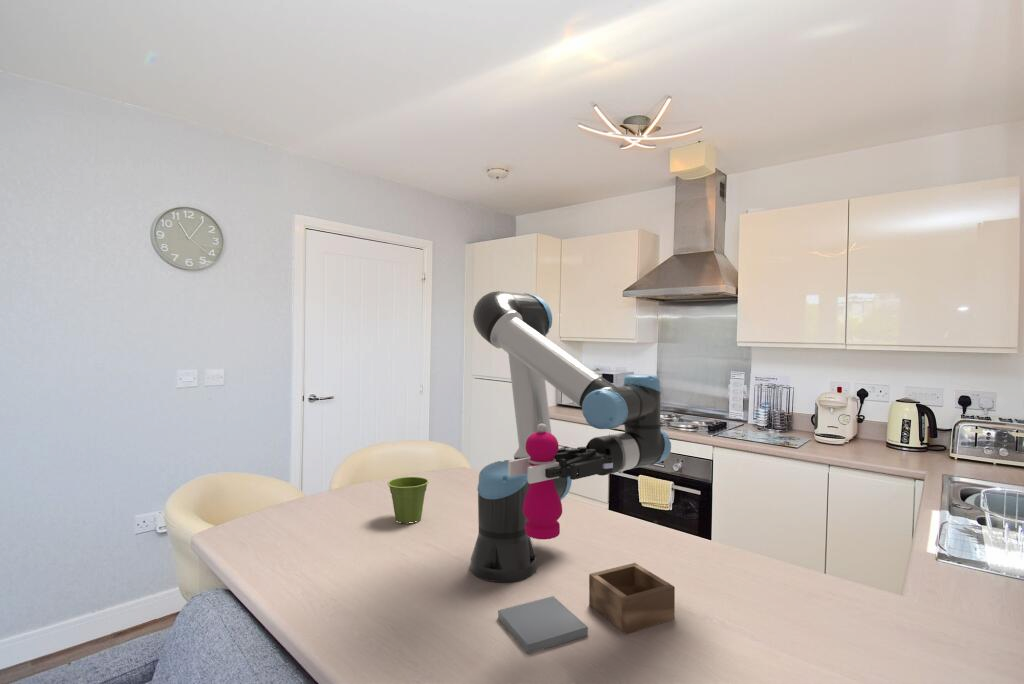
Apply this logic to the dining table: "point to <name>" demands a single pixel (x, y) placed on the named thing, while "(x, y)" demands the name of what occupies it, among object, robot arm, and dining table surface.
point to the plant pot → (408, 497)
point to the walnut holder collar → (631, 597)
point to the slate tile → (542, 624)
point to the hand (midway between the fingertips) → (519, 471)
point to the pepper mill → (542, 489)
